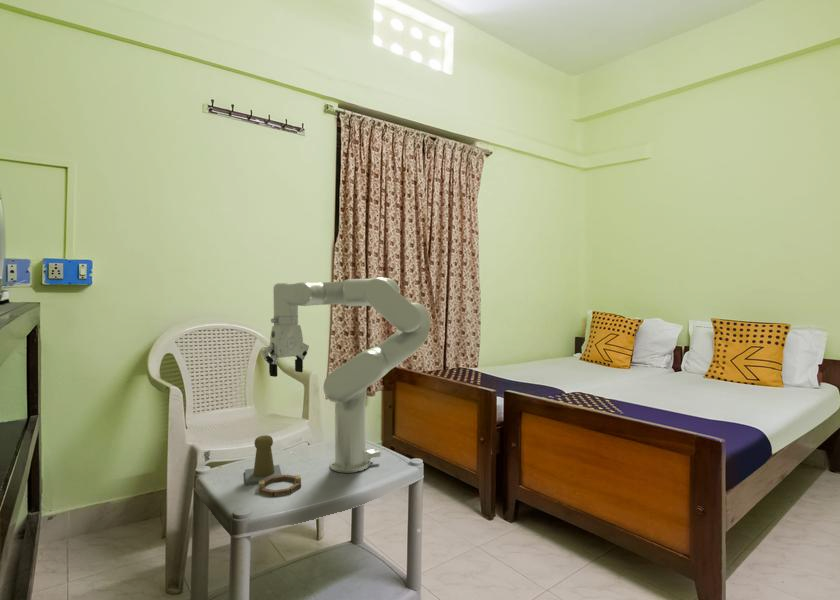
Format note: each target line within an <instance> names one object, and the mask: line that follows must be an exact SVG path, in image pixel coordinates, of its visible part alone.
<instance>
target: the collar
mask: <svg viewBox="0 0 840 600" xmlns="http://www.w3.org/2000/svg"><path fill="white" fill-rule="evenodd" d="M283 480H284V481H288V482H292V483H294V484H293V485H291V486H290V487H287V488H280V489H270V488H265V487H266V486H269V485H270V484H271V483H276V482H283ZM301 487H302V477H301V474H297V475H296V474H295V475H291V474H282V475H279V476H272V477H269V478H267V479H265V480H262V481H259V483H258V491H259V494H260V495H262V496H267V497H272V498H273V497H281V496H286V495H290V494H293V493H295V492H296V491H298V490H300V489H301Z"/></svg>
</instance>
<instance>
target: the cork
mask: <svg viewBox="0 0 840 600" xmlns="http://www.w3.org/2000/svg"><path fill="white" fill-rule="evenodd" d="M273 439H274V438H272V436H271V435H259V436H257V437H256V438H255V440H254V447H255V448H256V449H255V458H254V467H253V468H254V473H253V475H254V476H255V477H267V476H270V475H272V474H274V472H275V470H274V465H275V464H274V459H273V458H274V457H273V452H272V446H273V443H274V440H273Z"/></svg>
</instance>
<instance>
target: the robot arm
mask: <svg viewBox="0 0 840 600" xmlns="http://www.w3.org/2000/svg"><path fill="white" fill-rule="evenodd" d="M323 305H325V306H326V305H342V306H343V305H344V306H346V307H361V306H362V307H365V306H366V307H369V306H370V307H372V308H373V310H375V311H376V312H377V313H378V314H379V315H380V316H381V317H383V318H384V320H386V321H387V322H388V323H389V324H390V325H392V327H394V328H395V329H396V330H397V331H395V333H393V334H392V335H389V337H387V338H386V339H384V340H383V341H382V342H380V343H379V344H376V346H374V347H371V348H368V349H366V350H365V349H364V350H363V351H362V352H359V353H357V354H356V355H355V356H353V357H352V358H350V359H349V360H348V361H346V362H344V363H343V364H342V365H340V366H339V367H337V368H336V369H335V370H333V371H332V372H330V373H329V374H327V376H326V378H325V380H324V382H323V393H324V396H325V397H326V399H327V400H329V401H331V402H333V403H335V404H334V458H333V459H332V460H331V461H330V462H329V467H330V469H331V470H332V471H335V472H338V473H343V474H351V473H358V471H359V472H361V471H364V469H365V470H367V469H368V468H369V467H370V466H371V459H372V458H380V457H381V451H380V450H375V449H368V450H367V449H366V400H367V399H366V398H367V390H368V388H369V387H370V386H372V385H373V384H374V383H376V382H377V381H379V380H380V379H382V378H383V377H385V376H386V375H387V374H388V373H389V372H390V371H391V370H393V369H394V368H395V367H397V366H398V365H400V364H402V362H404V361H405V360H407V358H409V357H411V356H412V355H413V354H415V353H416V352H417V351H418V350H419V349H420V348H421V347H422V346H423V345H424V343H426V341H427V338H428V337H429V333H430V331H431V317H430V316H431V315H430V313H429V310H428V309H427V307H426V306H424V305H423V304H421V303H419V302H410V301H409V300H408V299H407V298H406V297H405V296H403V294H402V293H400V288H399V285H398V283H397V282H396V281H395V280H394V279H392V278H390V277H389V278H388V277H374V278H373V277H372V278H349V279H345V280H342V281H332V282H330V281H329V282H328V281H327V282H326V281H325V282H313V281H308V282H307V281H304V282H303V281H301V282H296V283H293V282H279V283H278V282H277V283H275V284H274V285H273V318H270V322H271V324H273V325H272V326H271V331H270V338H269V345H268V346H267V347H265V348H264V349H262V351H261V354H262V356H263V360H265V361H266V363H267V364H268V367H269V368H268V370H269V376H270V377H274V378H277V377H278V364H277V362H278V360H279V358H281V359H283V358H291V357H295V358H294V371H295V372H296V373H303V368H304V366H303V365H304V364H303V363H304V362H303V361H304V360H305V358H306V356H307V354H308V351H309V347H310V346H309V345H308V344H306V343H305V342H304V337H303V331H302V327H301V325H300V324H299V306H300V307H308V306H323ZM269 354H270V355H269Z"/></svg>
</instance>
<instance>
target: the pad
mask: <svg viewBox="0 0 840 600" xmlns="http://www.w3.org/2000/svg"><path fill="white" fill-rule="evenodd" d="M274 470H275V472H274V474H272V475H270V476H267V477H255V476H254V475H253V473H254V467H253V468H248V469H244V479H245V481H244V482H245V486H250V485H251V486H252V485H259V481H262V480H265V479H267V478H269V477H272V476H279V475H283V474H282V472H281V467H280V465H279V464H276V465H275V464H274Z"/></svg>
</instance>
